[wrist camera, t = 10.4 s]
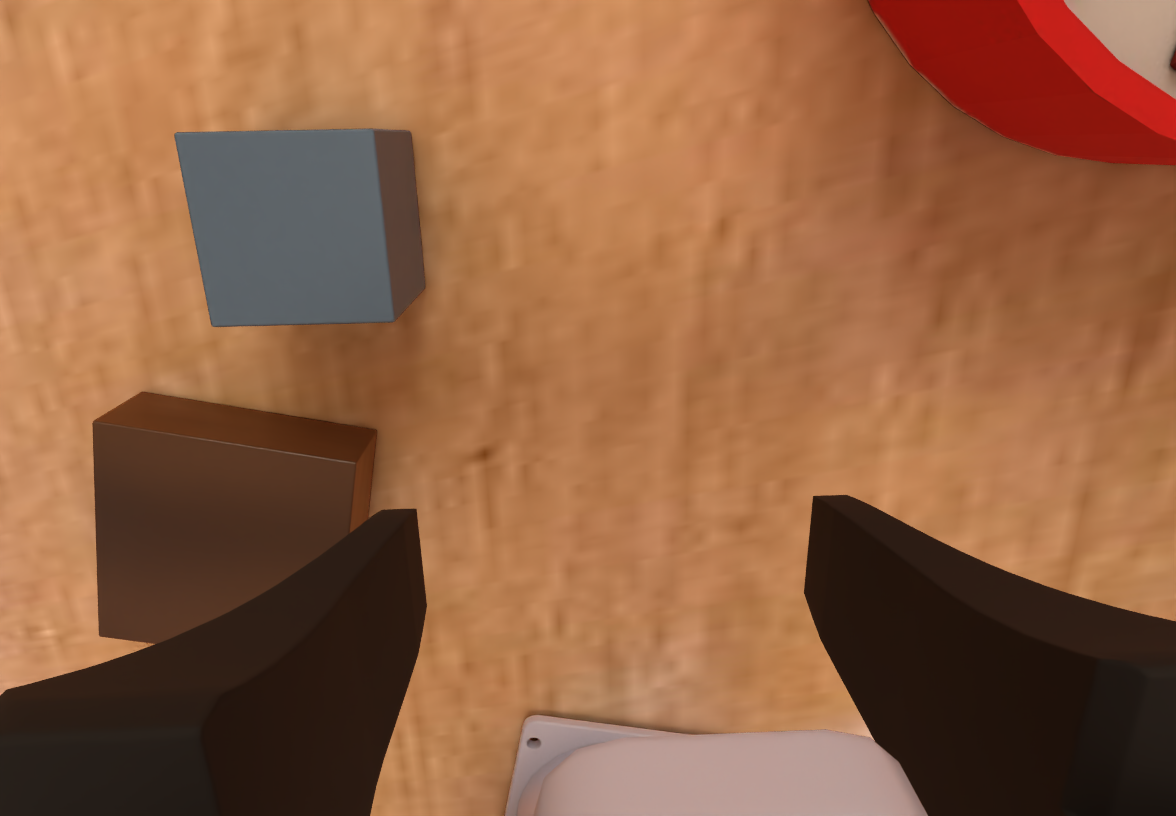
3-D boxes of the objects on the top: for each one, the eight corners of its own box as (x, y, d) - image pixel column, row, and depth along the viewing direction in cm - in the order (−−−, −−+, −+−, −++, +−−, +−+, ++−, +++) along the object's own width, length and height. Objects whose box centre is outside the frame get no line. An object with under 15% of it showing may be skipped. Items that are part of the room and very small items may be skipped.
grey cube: (426, 288, 22) (395, 322, 18) (276, 292, 22) (210, 327, 18) (411, 130, 21) (373, 129, 16) (250, 133, 20) (172, 132, 16)
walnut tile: (357, 618, 26) (336, 668, 23) (143, 588, 25) (98, 637, 23) (377, 429, 24) (356, 462, 21) (141, 391, 23) (91, 421, 20)
